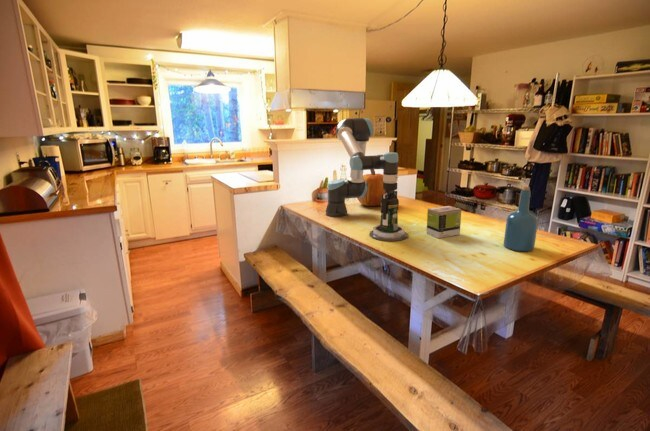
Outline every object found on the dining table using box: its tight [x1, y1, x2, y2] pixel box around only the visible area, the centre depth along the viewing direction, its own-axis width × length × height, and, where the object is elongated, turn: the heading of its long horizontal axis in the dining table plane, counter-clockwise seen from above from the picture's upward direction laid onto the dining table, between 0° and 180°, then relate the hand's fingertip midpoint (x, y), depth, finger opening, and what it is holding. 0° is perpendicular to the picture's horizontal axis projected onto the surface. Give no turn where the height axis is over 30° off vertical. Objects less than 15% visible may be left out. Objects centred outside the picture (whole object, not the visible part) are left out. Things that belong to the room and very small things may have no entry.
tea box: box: [426, 205, 462, 239], centre depth 184 cm, size 15×10×15 cm, turn 111°
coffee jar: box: [379, 197, 400, 232], centre depth 183 cm, size 10×8×19 cm
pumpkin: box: [356, 169, 385, 207], centre depth 254 cm, size 26×23×30 cm
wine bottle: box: [503, 185, 539, 252], centre depth 160 cm, size 14×13×30 cm
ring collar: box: [368, 224, 409, 242], centre depth 186 cm, size 21×21×4 cm
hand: (388, 223), depth 184 cm, fingers closed on coffee jar, 8 cm apart
